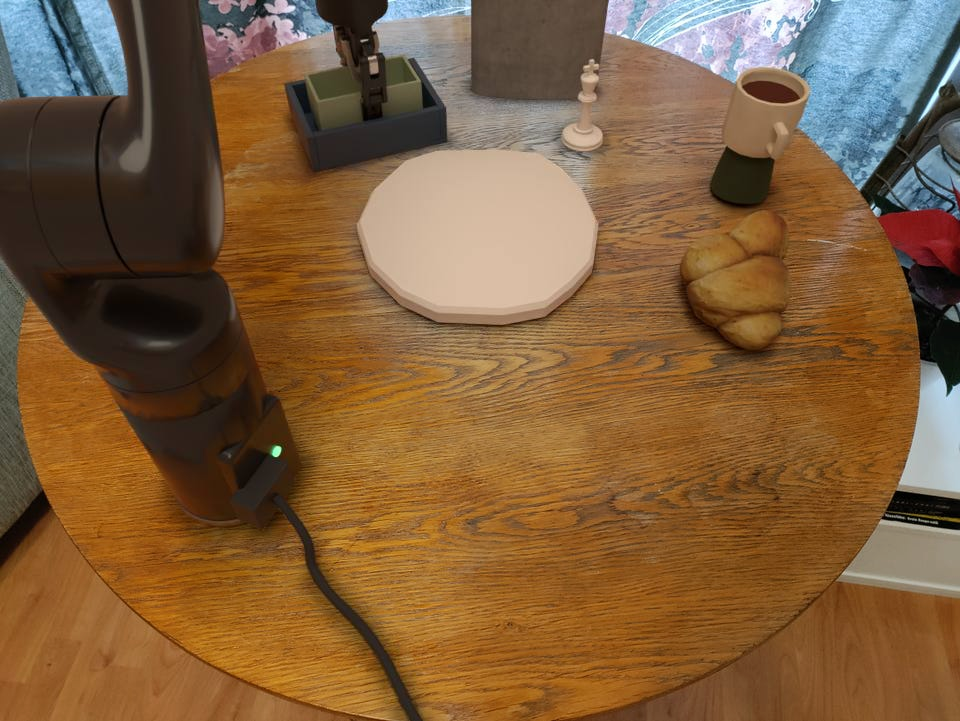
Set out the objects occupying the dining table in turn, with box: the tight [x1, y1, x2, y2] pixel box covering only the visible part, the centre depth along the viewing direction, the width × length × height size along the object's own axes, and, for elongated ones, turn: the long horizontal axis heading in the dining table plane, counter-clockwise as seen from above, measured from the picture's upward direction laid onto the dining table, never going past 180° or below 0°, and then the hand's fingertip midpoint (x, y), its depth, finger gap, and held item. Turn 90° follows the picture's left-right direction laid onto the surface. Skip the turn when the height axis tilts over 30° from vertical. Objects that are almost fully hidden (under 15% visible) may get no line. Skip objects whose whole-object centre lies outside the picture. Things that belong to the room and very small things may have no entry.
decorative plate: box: [355, 149, 600, 326], centre depth 78 cm, size 25×4×25 cm
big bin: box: [283, 57, 448, 173], centre depth 90 cm, size 16×12×5 cm
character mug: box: [709, 66, 811, 205], centre depth 80 cm, size 11×7×13 cm, turn 6°
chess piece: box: [560, 59, 604, 152], centre depth 87 cm, size 5×5×10 cm
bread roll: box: [678, 209, 792, 351], centre depth 70 cm, size 13×10×8 cm
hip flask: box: [470, 0, 610, 101], centre depth 89 cm, size 16×4×20 cm, turn 88°
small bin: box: [303, 54, 423, 131], centre depth 88 cm, size 12×6×5 cm, turn 112°
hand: (365, 111), depth 90 cm, fingers closed on small bin, 6 cm apart
